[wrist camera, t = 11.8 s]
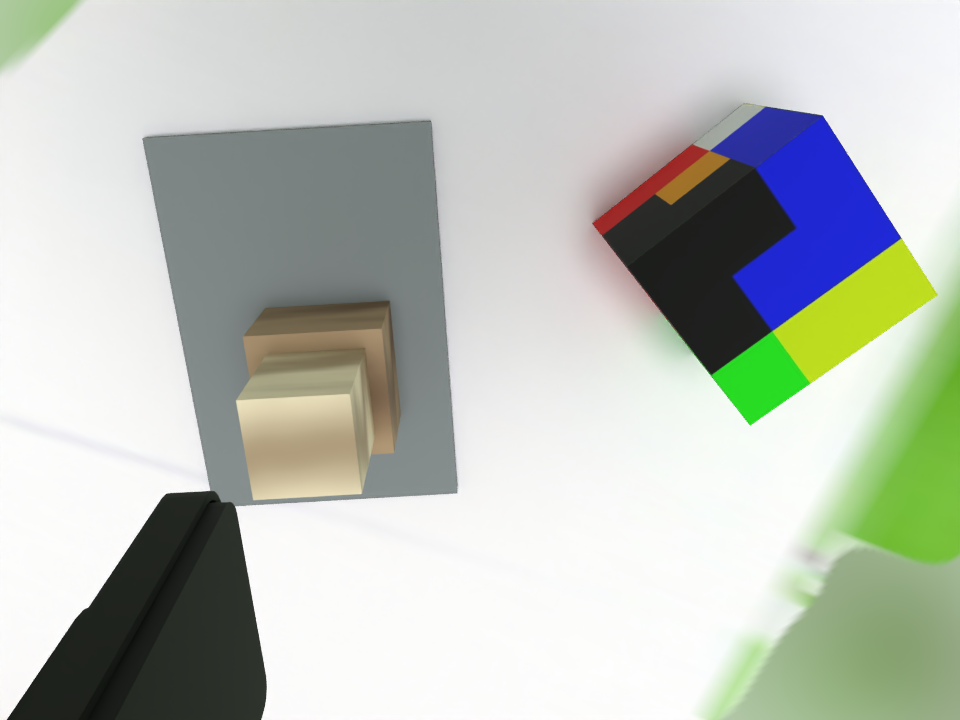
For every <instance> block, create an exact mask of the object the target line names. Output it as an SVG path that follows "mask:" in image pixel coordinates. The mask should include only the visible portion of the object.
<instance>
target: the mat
mask: <svg viewBox="0 0 960 720" xmlns="http://www.w3.org/2000/svg"><path fill="white" fill-rule="evenodd" d="M143 144H144V149H145V154H146V159H147V164H148V170H149V175H150V180H151V185H152V190H153V195H154V201H155V206H156V211H157V216H158V221H159V226H160V232H161V237H162V242H163V247H164V252H165V257H166V263H167V268H168V273H169V278H170V283H171V289H172V294H173V299H174V304H175V309H176V314H177V320H178V325H179V330H180V335H181V340H182V345H183V351H184V356H185V361H186V366H187V371H188V376H189V382H190V387H191V392H192V397H193V402H194V408H195V413H196V418H197V423H198V428H199V433H200V439H201V444H202V449H203V454H204V459H205V464H206V470H207V475H208V480H209V485H210V490H211V491H215V492H216V493H217V494H218V496H219V498H220V500H221V502H232V503H233V504H234V506H246V505H263V504H280V503H297V502H315V501H332V500H349V499H366V498H384V497H401V496H418V495H435V494H452V493H457V476H456V462H455V449H454V435H453V421H452V407H451V393H450V379H449V365H448V352H447V338H446V324H445V310H444V296H443V282H442V268H441V254H440V241H439V227H438V213H437V199H436V185H435V171H434V157H433V143H432V130H431V121H425V122H407V123H390V124H372V125H355V126H338V127H320V128H303V129H285V130H268V131H251V132H233V133H216V134H198V135H181V136H164V137H147V138H143ZM377 301H390V308H391V318H392V329H393V339H394V349H395V360H396V370H397V381H398V391H399V401H400V412H401V416H400V422H399V428H398V434H397V440H396V445H395V451H394V453H387V454H371V456H370V460H369V465H368V469H367V473H366V478H365V482H364V487H363V491H362V494H353V495H335V496H318V497H301V498H283V499H266V500H253V496H252V490H251V485H250V479H249V473H248V467H247V462H246V456H245V450H244V444H243V438H242V433H241V427H240V421H239V415H238V409H237V404H236V400H237V398H238V396H239V395H240V393H241V392H242V390H243V389H244V387H245V386H246V384H247V383H248V381H249V380H250V378H249V372H248V366H247V360H246V354H245V348H244V341H243V336H244V334H245V333H246V332H247V331H248V329H249V328H250V327H251V325H252V324H253V323H254V322H255V320H256V319H257V318H258V317H259V315H260V314H261V313H262V311H263V310H264V309H265V308H273V307H291V306H308V305H325V304H342V303H360V302H377Z"/></svg>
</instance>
